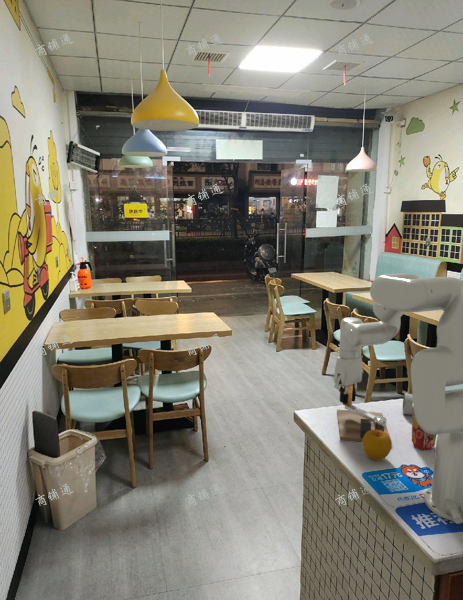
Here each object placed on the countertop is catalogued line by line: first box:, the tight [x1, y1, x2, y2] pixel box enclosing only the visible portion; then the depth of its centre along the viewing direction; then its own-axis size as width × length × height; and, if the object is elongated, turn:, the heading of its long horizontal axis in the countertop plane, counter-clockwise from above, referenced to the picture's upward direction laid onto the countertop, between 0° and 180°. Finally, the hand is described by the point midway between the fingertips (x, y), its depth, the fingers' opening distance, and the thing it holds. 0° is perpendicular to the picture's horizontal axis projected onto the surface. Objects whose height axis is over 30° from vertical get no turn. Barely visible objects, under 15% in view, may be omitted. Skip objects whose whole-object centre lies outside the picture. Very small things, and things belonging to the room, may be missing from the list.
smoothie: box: [411, 404, 437, 451], centre depth 136 cm, size 8×8×20 cm
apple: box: [361, 430, 392, 461], centre depth 131 cm, size 9×8×9 cm
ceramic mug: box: [402, 392, 413, 416], centre depth 160 cm, size 11×8×8 cm
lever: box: [342, 384, 387, 427], centre depth 148 cm, size 18×4×10 cm, turn 34°
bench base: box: [336, 409, 391, 444], centre depth 149 cm, size 20×16×7 cm
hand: (347, 401), depth 154 cm, fingers closed on lever, 3 cm apart
